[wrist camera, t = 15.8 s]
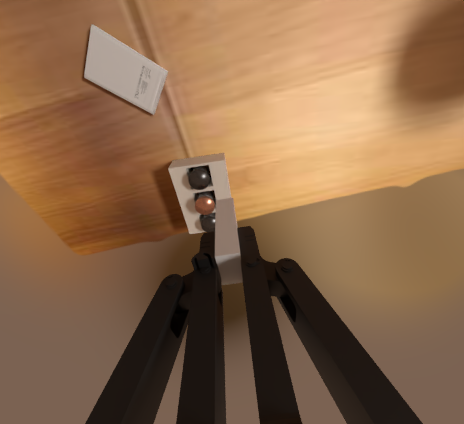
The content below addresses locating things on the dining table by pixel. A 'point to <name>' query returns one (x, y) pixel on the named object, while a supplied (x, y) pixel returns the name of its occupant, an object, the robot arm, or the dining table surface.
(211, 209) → the plunger
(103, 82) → the external hard drive
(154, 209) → the dining table surface
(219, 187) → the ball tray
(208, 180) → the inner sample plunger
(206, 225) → the plunger
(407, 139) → the dining table surface
